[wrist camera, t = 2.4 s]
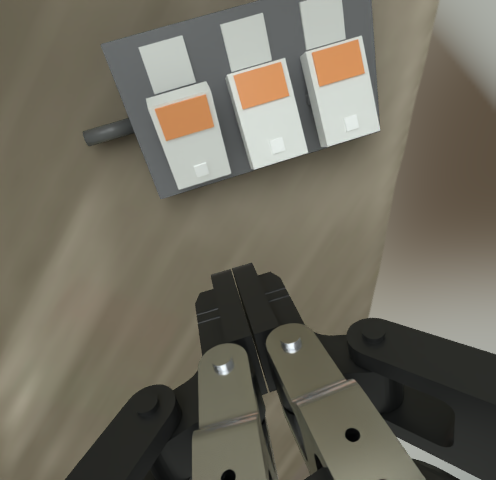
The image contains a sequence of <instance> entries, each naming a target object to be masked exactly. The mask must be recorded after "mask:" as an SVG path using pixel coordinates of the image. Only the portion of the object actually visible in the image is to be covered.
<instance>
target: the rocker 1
mask: <svg viewBox="0 0 496 480" xmlns="http://www.w3.org/2000/svg"><path fill="white" fill-rule="evenodd" d="M146 102H147V107H148V110H149V113H150V115H151V118H152V121H153V123H154V126H155V129H156V131H157V134H158V137H159V139H160V142H161V144H162V147H163V150H164V152H165V155H166V158H167V160H168V163H169V166H170V168H171V171H172V173H173V176H174V179H175V181H176V184H177V187H178V189H179V190H180V189H183V188H187V187H190V186H193V185H196V184H200V183H203V182H206V181H209V180H212V179H216V178H219V177H222V176H225V175H229V174H231V170H230V166H229V162H228V158H227V154H226V150H225V146H224V142H223V138H222V134H221V130H220V126H219V122H218V118H217V114H216V110H215V106H214V102H213V97H212V93H211V90H210V88H209V86H208V84H207V82H206V81H205V82H201V83H198V84H194V85H191V86H188V87H184V88H181V89H177V90H174V91H170V92H167V93H163V94H160V95H157V96H153V97H150V98H146Z"/></svg>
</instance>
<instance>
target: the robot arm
mask: <svg viewBox="0 0 496 480" xmlns="http://www.w3.org/2000/svg"><path fill="white" fill-rule="evenodd" d="M232 270H233V274H234V277H235V281H236V284H237V288H238V291H239V294H238V291H237V288H236V285H235V282H234V278H233V275H232V272H231V269H229V270H226V271H222V272H219V273H216V274H212V275H211V279H212V283H213V288H214V289H212V290H209V291H205V292H202V293H200V294H199V296H198V298H197V301H196V303H195V306H196V314H197V321H198V328H199V335H200V343H201V350H202V358H201V359H200V361H199V364H198V371H197V372H196V374H195V375H194V376H193V377H192V378H191V379H190V380H188V381H187V382H185V383H184V384H182V385H181V386H179V387H177V388H176V389H174V390H173V391H172V389H171V388H169V387H168V386H165V385H152V386H148V387H146V388H143V389H142V390H140V391H138V392H137V393H136V394H134V395H133V396H132V397H131V398H130V399H129V400H128V402H127V403H126V404H125V405H124V407H123V408H122V409H121V410H120V412H119V413H118V414H117V415H116V417H115V418H114V419H113V420H112V422H111V423H110V424H109V425H108V427H107V428H106V429H105V430H104V432H103V433H102V434H101V435H100V437H99V438H98V439H97V440H96V442H95V443H94V444H93V445H92V447H91V448H90V449H89V450H88V452H87V453H86V454H85V455H84V457H83V458H82V459H81V460H80V461H79V463H78V464H77V465H76V466H75V468H74V469H73V470H72V471H71V473H70V474H69V475H68V476H67V478H66V479H65V480H278V476H277V471H276V466H275V460H274V455H273V450H272V445H271V440H270V435H269V430H268V425H267V420H266V417H265V410H266V409H265V405H264V401H263V398H262V395H263V394H266V393H268V392H267V389H266V385H265V381H264V378H263V374H262V371H261V367H260V363H261V366H262V369H263V372H264V375H265V379H266V382H267V385H268V388H269V391H270V392H272V391H275V390H277V393H278V395H279V398H280V402H281V405H282V409H283V413H284V415H285V418H286V420H287V422H288V425H289V427H290V429H291V432H292V434H293V436H294V438H295V441H296V443H297V445H298V448H299V450H300V452H301V454H302V457H303V459H304V461H305V464H306V466H307V468H308V471H309V473H310V476H309V477H307V478H306V479H304V480H460V479H458V478H456V477H454V476H452V475H450V474H449V473H447V472H445V471H443V470H441V469H439V468H437V467H435V466H433V465H430V464H428V463H426V462H423V461H419V460H416V459H412V458H411V457H410V456H409V455H408V453H407V452H406V450H405V449H404V448H403V446H402V445H401V443H400V442H399V441H398V439H397V438H396V437H398V438H400V439H402V440H404V441H406V442H408V443H410V444H412V445H414V446H416V447H418V448H420V449H422V450H424V451H426V452H428V453H430V454H432V455H434V456H436V457H438V458H440V459H442V460H444V461H446V462H448V463H450V464H452V465H454V466H456V467H458V468H460V469H462V470H464V471H466V472H467V473H469V474H471V475H474V476H475V477H477V478H479V479H481V480H496V354H493V353H490V352H486V351H483V350H480V349H477V348H474V347H470V346H467V345H464V344H460V343H457V342H454V341H451V340H448V339H444V338H441V337H438V336H435V335H432V334H429V333H425V332H422V331H419V330H416V329H412V328H409V327H406V326H403V325H400V324H396V323H393V322H390V321H387V320H383V319H379V318H367V319H362V320H359V321H357V322H355V323H354V324H353V325H351V327H350V328H349V329H348V331H347V335H335V336H327V335H321V334H317V333H315V332H313V331H312V329H310V328H309V327H308V326H306V325H305V324H304V322H303V321H302V319H301V317H300V315H299V313H298V311H297V309H296V307H295V305H294V303H293V301H292V299H291V298H290V296H289V294H288V292H287V290H286V289H285V286H284V284H283V282H282V280H281V278H279V277H278V276H276V275H275V274H273V273H271V272H268V273H265V274H262V275H257V273H256V271H255V268H254V266H253V264H252V263H249V264H246V265H242V266H239V267H235V268H232ZM239 295H240V297H239ZM240 299H241V300H240ZM241 302H242V304H241ZM242 306H243V307H242ZM243 309H244V310H243ZM244 312H245V313H244ZM249 328H250V329H249ZM253 341H254V342H253ZM254 344H255V346H254ZM255 347H256V349H255ZM256 350H257V353H258V356H257V353H256ZM258 357H259V360H260V363H259V360H258Z"/></svg>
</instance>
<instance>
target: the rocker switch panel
mask: <svg viewBox="0 0 496 480" xmlns="http://www.w3.org/2000/svg"><path fill="white" fill-rule="evenodd" d="M358 36H362V39H363V44H364V49H365V54H366V59H367V64H368V70H369V75H370V80H371V85H372V90H373V95H374V100H375V106H376V111H377V116H378V121H379V107H378V92H377V77H376V62H375V47H374V32H373V17H372V2H371V0H258V1H255V2H251V3H248V4H244V5H240V6H237V7H233V8H230V9H226V10H222V11H219V12H215V13H211V14H208V15H204V16H201V17H197V18H193V19H190V20H186V21H183V22H179V23H175V24H172V25H168V26H165V27H161V28H157V29H154V30H150V31H147V32H143V33H139V34H136V35H132V36H129V37H125V38H121V39H118V40H114V41H110V42H107V43H103V44H100V45H101V47H102V50H103V52H104V55H105V58H106V60H107V63H108V65H109V68H110V71H111V73H112V76H113V78H114V81H115V83H116V86H117V89H118V91H119V94H120V96H121V99H122V101H123V104H124V107H125V109H126V112H127V114H128V117H129V118H127V119H124V120H120V121H117V122H113V123H110V124H107V125H103V126H100V127H96V128H93V129H90V130H86V131H83V136H84V139H85V141H86V143H87V145H88V146H92V145H95V144H98V143H102V142H105V141H108V140H112V139H115V138H119V137H122V136H125V135H129V134H132V133H135V135H136V137H137V140H138V143H139V145H140V148H141V150H142V153H143V155H144V158H145V161H146V163H147V166H148V168H149V171H150V173H151V176H152V179H153V181H154V184H155V186H156V189H157V192H158V194H159V197H160V199H163V198H167V197H170V196H173V195H176V194H179V193H183V192H186V191H189V190H192V189H196V188H199V187H202V186H205V185H208V184H212V183H215V182H218V181H221V180H225V179H228V178H231V177H234V176H237V175H241V174H244V173H247V172H250V171H254V169H251V167H250V164H249V160H248V157H247V153H246V150H245V146H244V143H243V139H242V136H241V132H240V129H239V125H238V122H237V118H236V115H235V111H234V108H233V104H232V101H231V97H230V94H229V90H228V87H227V83H226V80H225V78H226V76H227V74H231V73H234V72H238V71H241V70H245V69H248V68H251V67H255V66H258V65H262V64H265V63H269V62H272V61H276V60H279V59H282V58H285V60H286V64H287V68H288V72H289V76H290V80H291V84H292V88H293V92H294V97H295V101H296V105H297V109H298V113H299V117H300V121H301V125H302V129H303V133H304V137H305V141H306V145H307V150H308V153H312V152H315V151H318V150H321V149H324V148H328V147H321V145H320V141H319V137H318V132H317V128H316V124H315V120H314V115H313V111H312V107H311V103H310V99H309V94H308V90H307V86H306V82H305V77H304V73H303V69H302V65H301V60H300V56H301V55H303V54H304V53H305V52H307V51H310V50H313V49H317V48H320V47H324V46H327V45H331V44H334V43H338V42H341V41H345V40H348V39H351V38H355V37H358ZM205 81H206V82H207V84H208V86H209V88H210V90H211V93H212V97H213V102H214V106H215V110H216V114H217V118H218V122H219V126H220V130H221V134H222V138H223V142H224V146H225V150H226V154H227V158H228V162H229V166H230V170H231V174H229V175H225V176H222V177H219V178H216V179H212V180H209V181H206V182H203V183H200V184H196V185H193V186H190V187H187V188H183V189H180V190H179V189H178V187H177V184H176V181H175V179H174V176H173V173H172V171H171V168H170V166H169V163H168V160H167V158H166V155H165V152H164V150H163V147H162V144H161V142H160V139H159V137H158V134H157V131H156V129H155V126H154V123H153V121H152V118H151V115H150V113H149V110H148V107H147V102H146V98H150V97H153V96H157V95H160V94H163V93H167V92H170V91H174V90H177V89H181V88H184V87H188V86H191V85H194V84H198V83H201V82H205ZM379 126H380V122H379ZM377 132H379V131H377ZM374 133H376V132H374ZM371 134H373V133H371ZM367 135H370V134H367ZM364 136H366V135H364ZM361 137H363V136H361ZM358 138H360V137H358ZM354 139H357V138H354ZM351 140H353V139H351ZM348 141H350V140H348ZM345 142H347V141H345ZM342 143H344V142H342ZM338 144H341V143H338ZM335 145H337V144H335ZM332 146H334V145H332ZM329 147H331V146H329ZM308 153H306V154H308ZM303 155H305V154H303ZM300 156H302V155H300ZM296 157H299V156H296ZM293 158H295V157H293ZM290 159H292V158H290ZM287 160H289V159H287ZM284 161H286V160H284ZM280 162H283V161H280ZM277 163H279V162H277ZM274 164H276V163H274ZM271 165H273V164H271ZM267 166H270V165H267ZM264 167H266V166H264ZM261 168H263V167H261ZM258 169H260V168H258ZM255 170H257V169H255Z"/></svg>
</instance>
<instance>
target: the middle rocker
mask: <svg viewBox="0 0 496 480" xmlns="http://www.w3.org/2000/svg"><path fill="white" fill-rule="evenodd" d="M225 80H226V83H227V87H228V90H229V94H230V97H231V101H232V104H233V108H234V111H235V115H236V118H237V122H238V125H239V129H240V132H241V136H242V139H243V143H244V146H245V150H246V153H247V157H248V160H249V164H250V167H251V169H254V170H255V169H258V168H261V167H264V166H267V165H271V164H274V163H277V162H280V161H284V160H287V159H290V158H293V157H296V156H300V155H303V154H306V153H308V150H307V145H306V141H305V137H304V133H303V129H302V125H301V121H300V117H299V113H298V109H297V105H296V101H295V97H294V92H293V88H292V84H291V80H290V76H289V72H288V68H287V64H286V60H285V58H282V59H279V60H276V61H272V62H269V63H265V64H262V65H258V66H255V67H251V68H248V69H245V70H241V71H238V72H234V73H231V74H227V76H226V78H225Z"/></svg>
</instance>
